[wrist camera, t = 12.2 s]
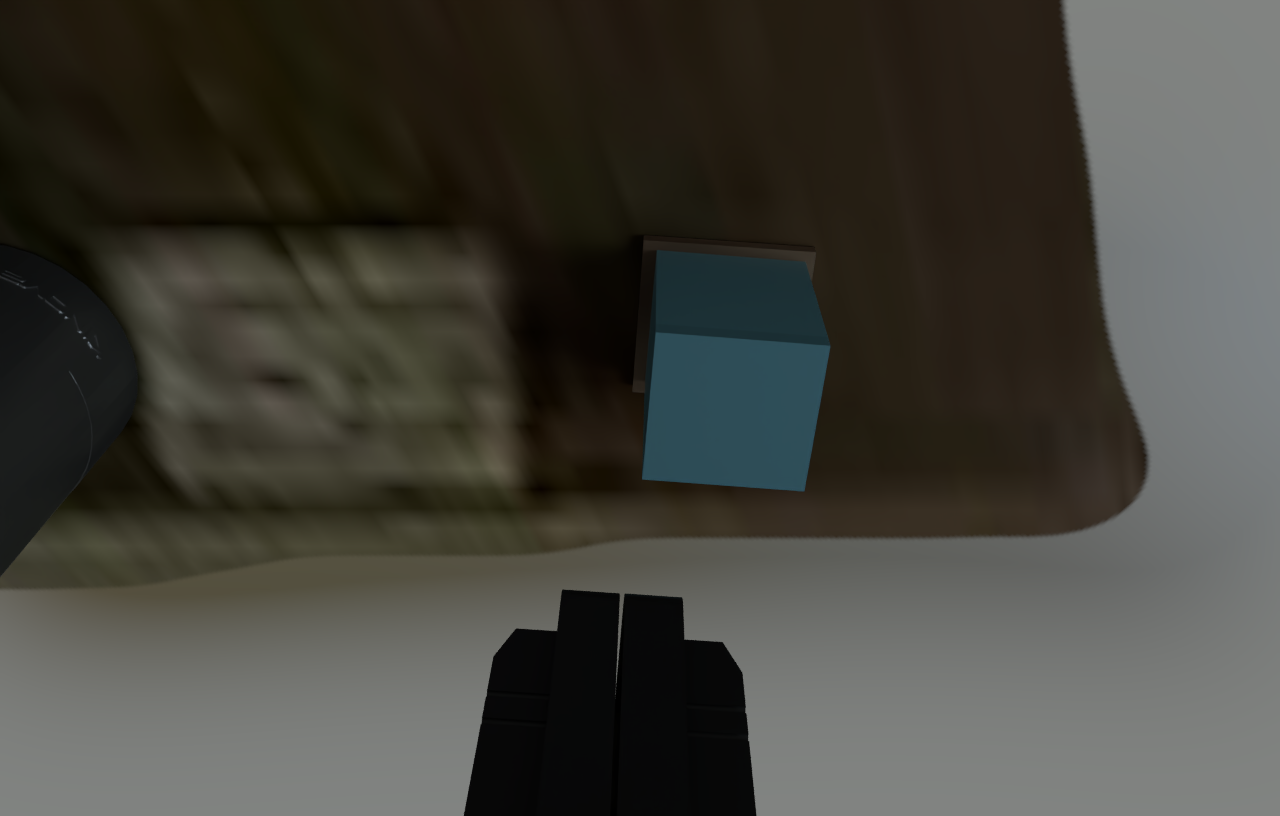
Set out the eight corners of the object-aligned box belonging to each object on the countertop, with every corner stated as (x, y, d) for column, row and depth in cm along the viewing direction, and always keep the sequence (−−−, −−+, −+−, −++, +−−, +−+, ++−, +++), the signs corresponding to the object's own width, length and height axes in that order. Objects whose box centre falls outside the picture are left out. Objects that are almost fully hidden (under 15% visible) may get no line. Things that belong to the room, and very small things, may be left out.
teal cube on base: (784, 392, 41) (804, 491, 36) (644, 381, 41) (642, 479, 36) (805, 261, 39) (830, 345, 33) (656, 250, 39) (655, 332, 33)
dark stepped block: (791, 396, 42) (811, 492, 36) (632, 385, 42) (628, 480, 36) (814, 246, 39) (840, 326, 33) (644, 235, 39) (640, 312, 33)
